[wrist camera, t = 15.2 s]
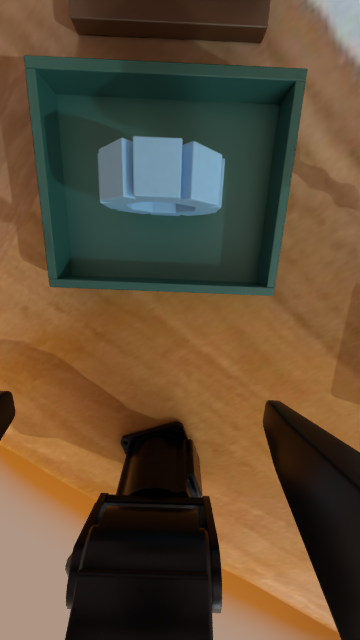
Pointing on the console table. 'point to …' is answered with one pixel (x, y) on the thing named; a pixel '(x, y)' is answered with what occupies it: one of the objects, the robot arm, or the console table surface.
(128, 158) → the blue segmented ring
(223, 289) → the tray
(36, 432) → the console table surface
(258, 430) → the console table surface
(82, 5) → the hook rack
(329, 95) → the console table surface
